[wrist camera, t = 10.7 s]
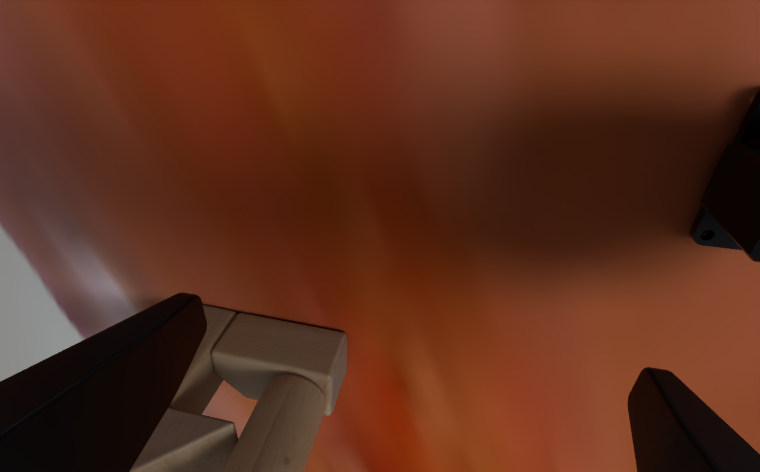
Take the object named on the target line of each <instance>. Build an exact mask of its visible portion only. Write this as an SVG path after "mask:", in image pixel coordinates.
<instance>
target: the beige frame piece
mask: <svg viewBox="0 0 760 472" xmlns="http://www.w3.org/2000/svg"><path fill="white" fill-rule="evenodd" d="M203 308H204V312H205V316H206V320H207V330H206V333H205V335H204V338H203V340H202V342H201V344H200V346H199V348H198V350H197V352H196V354H195V356H194V359H193V361H192V363H191V365H190V367H189V369H188V371H187V373H186V375H185V377H184V380H183V382H182V384H181V386H180V388H179V390H178V392H177V394H176V395H175V397H174V399H173V401H172V402H171V404H170V406H169V408H168V409H167V411H166V412H165V414H164V416H163V417H162V419H161V421H160V422H159V424H158V426H157V427H156V429H155V431H154V432H153V434H152V436H151V437H150V439H149V440H148V442H147V444H146V445H145V447H144V449H143V450H142V452H141V454H140V455H139V457H138V459H137V460H136V462H135V464H134V465H133V467H132V468H131V470H130V472H304V469H305V466H306V463H307V460H308V458H309V455H310V452H311V449H312V446H313V443H314V441H315V438H316V435H317V432H318V429H319V426H320V424H321V421H322V418H323V415H330V414H331V413H332V412H333V410H334V407H335V404H336V401H337V398H338V395H339V392H340V389H341V386H342V383H343V380H344V377H345V374H346V365H347V335H346V334H345V333H344V332H339V331H334V330H329V329H323V328H318V327H313V326H308V325H302V324H297V323H292V322H287V321H281V320H276V319H271V318H266V317H260V316H255V315H250V314H245V313H239V314H238V315H237V314H236V312H234V311H232V310H227V309H221V308H216V307H211V306H206V305H203ZM223 379H224V380H225V381H226V382H227V383H229V384H230V385H231V386H232V387H234V388H235V389H236V390H237V391H239V392H240V393H241V394H242V395H244V396H245V397H247V398H250V399H255V400H258V402H257V404H256V406H255V408H254V410H253V412H252V414H251V416H250V418H249V420H248V422H247V424H246V426H245V428H244V430H243V432H242V433H241V435H240V437H239V439H238V437H237V433H236V428H235V424H234V422H231V421H226V420H222V419H218V418H213V417H209V416H205V415H202V413H203V411H204V410H205V408H206V407H207V405H208V403H209V402H210V400H211V399H212V397H213V395H214V394H215V392H216V391H217V389H218V387H219V386H220V384H221V383H222V381H223Z"/></svg>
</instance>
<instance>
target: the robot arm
mask: <svg viewBox="0 0 760 472" xmlns="http://www.w3.org/2000/svg"><path fill="white" fill-rule="evenodd" d="M701 204H702V207H701V209H700V211H699V213H698V215H697V217H696V219H695V221H694V223H693V225H692V227H691V230H690V235H691V237H692V238H693V240H694V241H695V242H696V243H697V244H700V245H704V246H713V247H721V248H730V249H738V250H743V251H744V252H745V253H746V254H747V255H748V257H749V258H750V259H751V260H753V261H755V262H760V92H759V93H758V94H757V95H756V97H755V98H754V100H753V102H752V104H751V106H750V108H749V110H748V112H747V114H746V116H745V118H744V120H743V122H742V124H741V126H740V129H739V131H738V133H737V135H736V137H735V139H734V141H733V142H732V143H730V144H729V145H728V146H727V147H726V149H725V151H724V153H723V155H722V157H721V159H720V161H719V163H718V165H717V168H716V170H715V172H714V174H713V176H712V178H711V180H710V182H709V184H708V186H707V188H706V190H705V193H704V195H703V197H702V199H701ZM706 230H710V232H709V233H708V234H706V235H702V236H701V234H702V233H703V232H704V231H706ZM206 330H207V320H206V316H205V312H204V308H203V304H202V301H201V298H200V297H199V296H198V295H195V294H189V293H178V294H176V295H174V296H172V297H170V298H168V299H166V300H164V301H162V302H160V303H158V304H156V305H154V306H152V307H149V308H147V309H145V310H143V311H141V312H139V313H137V314H135V315H133V316H131V317H129V318H127V319H125V320H123V321H121V322H119V323H117V324H115V325H113V326H111V327H109V328H107V329H105V330H103V331H101V332H99V333H97V334H95V335H93V336H91V337H89V338H87V339H85V340H83V341H81V342H79V343H77V344H75V345H73V346H71V347H69V348H67V349H65V350H63V351H61V352H59V353H57V354H55V355H53V356H51V357H49V358H47V359H45V360H43V361H41V362H39V363H37V364H35V365H33V366H31V367H29V368H27V369H25V370H23V371H21V372H19V373H17V374H15V375H13V376H11V377H9V378H7V379H5V380H3V381H1V382H0V472H130V470H131V468H132V467H133V465H134V464H135V462H136V460H137V459H138V457H139V455H140V454H141V452H142V450H143V449H144V447H145V445H146V444H147V442H148V440H149V439H150V437H151V436H152V434H153V432H154V431H155V429H156V427H157V426H158V424H159V422H160V421H161V419H162V417H163V416H164V414H165V412H166V411H167V409H168V408H169V406H170V404H171V402H172V401H173V399H174V397H175V395H176V394H177V392H178V390H179V388H180V386H181V384H182V382H183V380H184V377H185V375H186V373H187V371H188V369H189V367H190V365H191V363H192V361H193V359H194V356H195V354H196V352H197V350H198V348H199V346H200V344H201V342H202V340H203V338H204V335H205V333H206ZM628 412H629V419H630V425H631V432H632V439H633V445H634V452H635V459H636V466H637V472H760V454H759V453H758V452H756V451H755V450H754V449H753V448H752V447H751V446H750V445H749V444H748V443H747V442H746V441H745V440H744V439H743V438H742V437H740V436H739V435H738V434H737V433H736V432H735V431H734V430H733V429H732V428H731V427H730V426H729V425H728V424H727V423H726V422H724V421H723V420H722V419H721V418H720V417H719V416H718V415H717V414H716V413H715V412H714V411H713V410H712V409H711V408H710V407H708V406H707V405H706V404H705V403H704V402H703V401H702V400H701V399H700V398H699V397H698V396H697V395H696V394H695V393H694V392H692V391H691V390H690V389H689V388H688V387H687V386H686V385H685V384H684V383H683V382H682V381H681V380H680V379H679V378H678V377H676V376H675V375H674V374H673V373H672V372H670V371H668V370H663V369H657V368H650V367H647V368H644V369H643V370H642V371H641V373H640V375H639V376H638V378H637V380H636V382H635V384H634V386H633V388H632V390H631V392H630V394H629V397H628Z"/></svg>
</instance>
